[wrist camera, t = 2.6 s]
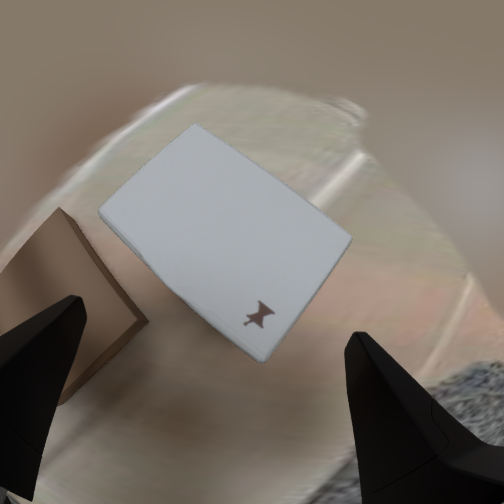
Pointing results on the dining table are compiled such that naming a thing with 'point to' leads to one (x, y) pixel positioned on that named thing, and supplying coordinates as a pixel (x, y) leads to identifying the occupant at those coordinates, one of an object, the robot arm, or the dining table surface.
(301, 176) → the dining table surface
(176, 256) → the skincare box
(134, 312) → the walnut block
